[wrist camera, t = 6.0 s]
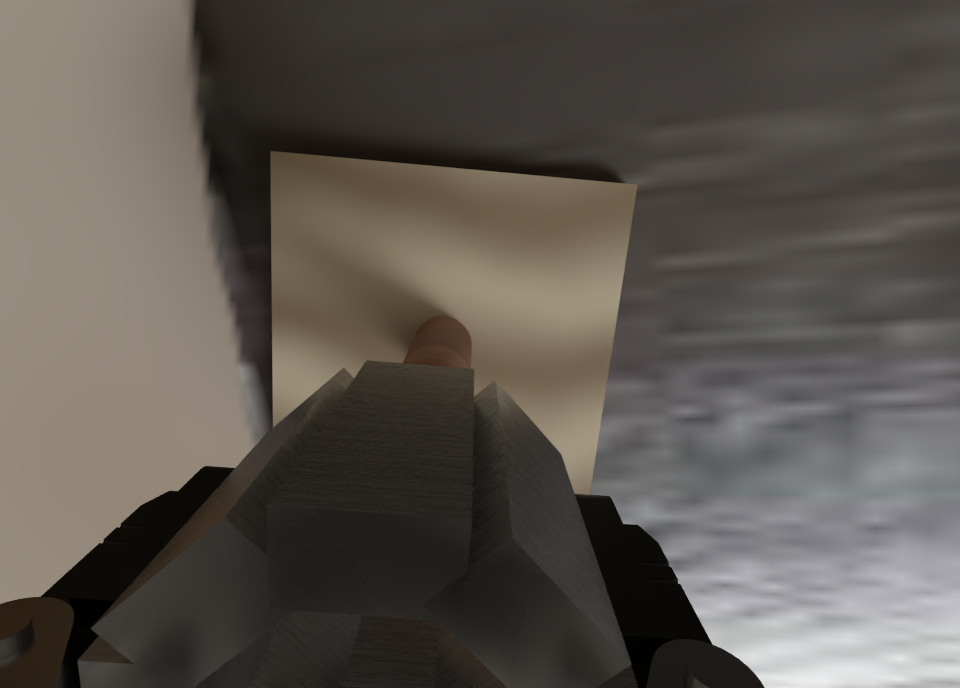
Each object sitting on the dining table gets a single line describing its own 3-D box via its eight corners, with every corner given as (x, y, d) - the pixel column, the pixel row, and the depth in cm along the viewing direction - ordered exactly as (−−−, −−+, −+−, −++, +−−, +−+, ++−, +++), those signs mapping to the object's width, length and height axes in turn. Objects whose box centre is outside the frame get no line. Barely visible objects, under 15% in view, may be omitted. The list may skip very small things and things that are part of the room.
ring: (257, 351, 10) (56, 489, 5) (580, 377, 10) (673, 533, 5) (262, 624, 12) (109, 926, 7) (543, 643, 12) (590, 949, 7)
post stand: (284, 154, 22) (120, 116, 12) (627, 185, 23) (750, 174, 12) (284, 468, 26) (159, 644, 16) (581, 491, 26) (648, 677, 16)
